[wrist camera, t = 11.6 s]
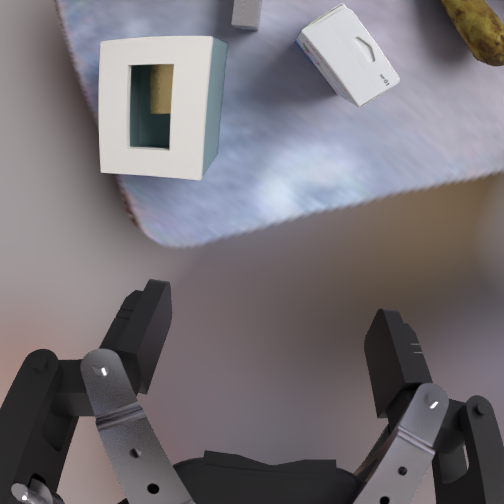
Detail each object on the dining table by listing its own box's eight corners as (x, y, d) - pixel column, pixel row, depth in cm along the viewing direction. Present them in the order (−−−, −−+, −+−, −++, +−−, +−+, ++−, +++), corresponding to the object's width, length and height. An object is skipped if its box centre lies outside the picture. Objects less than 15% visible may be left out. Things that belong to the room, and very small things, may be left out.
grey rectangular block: (235, 29, 31) (231, 24, 27) (241, -16, 27) (237, -24, 24) (258, 30, 31) (256, 26, 27) (264, -14, 27) (262, -22, 24)
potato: (470, -22, 21) (503, -31, 15) (490, 64, 28) (526, 69, 21) (419, -29, 23) (447, -43, 16) (442, 63, 30) (475, 66, 23)
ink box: (291, 41, 31) (297, 29, 21) (325, 19, 29) (345, -1, 19) (336, 97, 34) (360, 110, 24) (369, 75, 32) (405, 81, 22)
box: (139, 44, 32) (100, 41, 23) (227, 44, 31) (211, 36, 23) (135, 148, 39) (100, 172, 31) (217, 154, 39) (200, 180, 31)
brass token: (162, 108, 35) (150, 113, 32) (162, 61, 32) (150, 62, 29) (182, 108, 35) (172, 113, 32) (183, 60, 32) (173, 60, 29)
